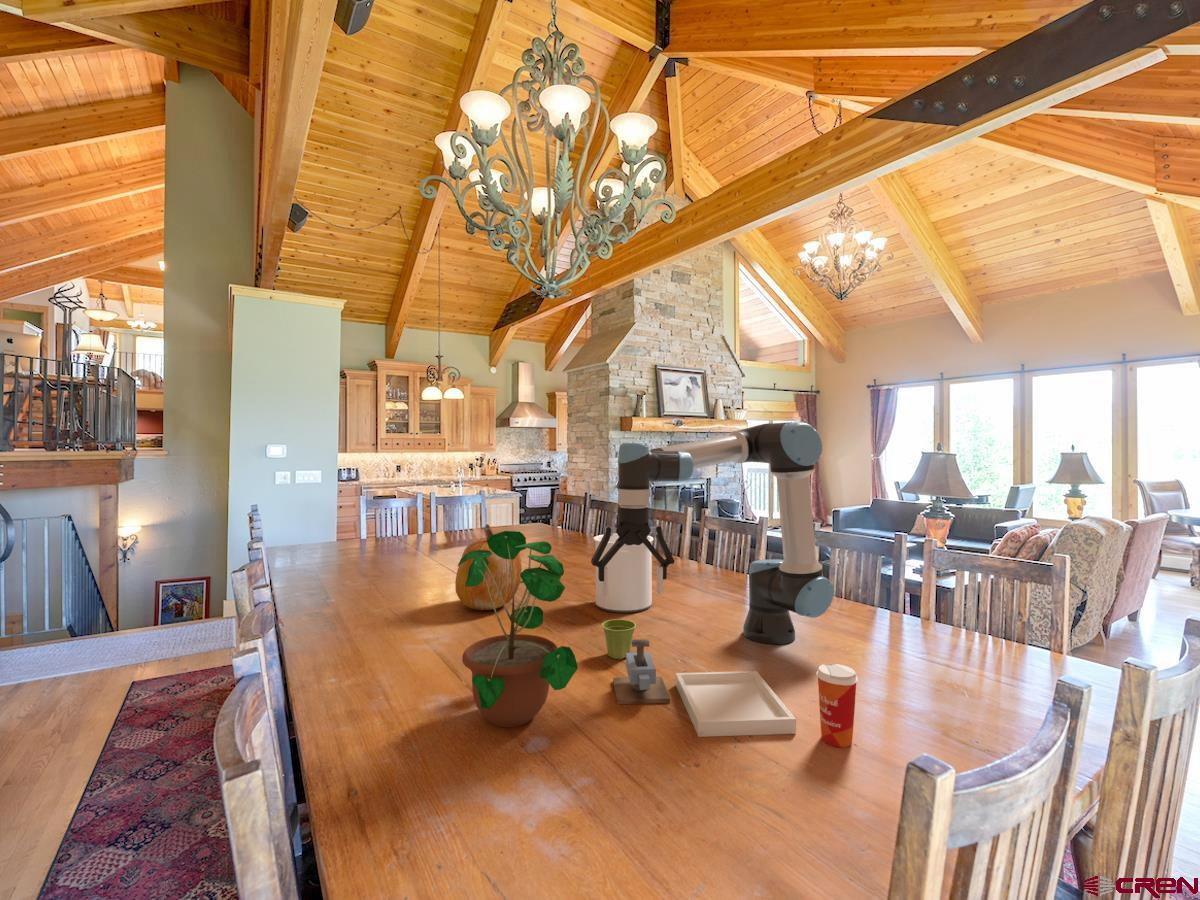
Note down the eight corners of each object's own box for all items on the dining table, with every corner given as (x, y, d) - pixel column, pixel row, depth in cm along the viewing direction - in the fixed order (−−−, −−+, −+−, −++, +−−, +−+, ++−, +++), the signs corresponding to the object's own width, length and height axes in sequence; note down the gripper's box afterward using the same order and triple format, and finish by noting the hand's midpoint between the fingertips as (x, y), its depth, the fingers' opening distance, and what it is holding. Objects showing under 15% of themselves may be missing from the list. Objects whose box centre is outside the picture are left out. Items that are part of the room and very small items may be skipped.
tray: (756, 683, 138) (756, 671, 138) (796, 733, 115) (796, 719, 114) (675, 685, 137) (675, 673, 137) (698, 736, 113) (698, 721, 113)
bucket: (598, 594, 219) (598, 531, 219) (654, 596, 216) (654, 532, 216) (588, 614, 194) (588, 543, 193) (651, 617, 191) (651, 544, 190)
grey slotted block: (625, 666, 139) (625, 653, 139) (649, 666, 139) (649, 652, 139) (631, 689, 126) (631, 674, 126) (657, 689, 126) (657, 674, 126)
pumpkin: (515, 617, 191) (515, 529, 191) (449, 617, 191) (448, 528, 191) (527, 596, 217) (526, 518, 217) (468, 596, 217) (467, 518, 217)
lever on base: (661, 680, 140) (661, 631, 140) (670, 702, 128) (670, 649, 128) (613, 681, 140) (613, 632, 139) (617, 704, 128) (617, 650, 127)
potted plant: (535, 767, 103) (534, 551, 102) (426, 725, 118) (425, 537, 117) (619, 701, 129) (619, 528, 128) (521, 674, 144) (521, 519, 144)
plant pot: (633, 663, 151) (633, 631, 151) (598, 660, 153) (598, 628, 153) (638, 650, 160) (638, 620, 160) (605, 648, 162) (605, 618, 162)
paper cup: (809, 731, 116) (809, 663, 115) (845, 729, 116) (845, 661, 116) (827, 752, 108) (828, 679, 108) (866, 750, 108) (866, 677, 108)
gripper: (678, 504, 143) (677, 588, 143) (580, 505, 139) (579, 591, 139) (687, 507, 136) (686, 596, 136) (584, 508, 132) (583, 599, 132)
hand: (632, 593), depth 137 cm, fingers open, 13 cm apart
